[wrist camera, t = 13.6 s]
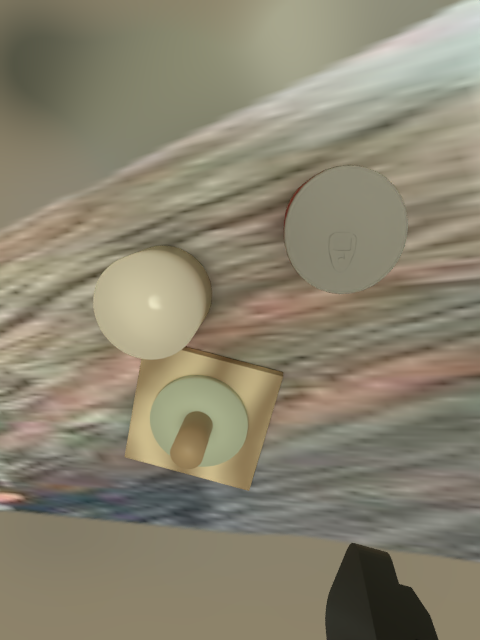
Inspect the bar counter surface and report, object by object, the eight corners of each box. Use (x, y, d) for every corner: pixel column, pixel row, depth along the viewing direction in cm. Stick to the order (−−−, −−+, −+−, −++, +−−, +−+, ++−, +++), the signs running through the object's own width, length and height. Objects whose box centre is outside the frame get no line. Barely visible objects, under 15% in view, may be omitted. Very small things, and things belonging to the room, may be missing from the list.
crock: (221, 258, 37) (209, 270, 32) (201, 346, 40) (187, 371, 35) (128, 235, 38) (100, 242, 32) (115, 323, 41) (87, 344, 35)
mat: (283, 372, 40) (283, 376, 39) (249, 484, 44) (248, 490, 44) (147, 336, 41) (144, 340, 40) (128, 451, 45) (124, 456, 44)
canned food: (295, 275, 37) (299, 306, 27) (274, 187, 35) (270, 184, 25) (379, 255, 36) (418, 279, 25) (363, 162, 34) (398, 148, 23)
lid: (258, 389, 40) (254, 421, 34) (236, 471, 43) (228, 513, 37) (161, 364, 40) (140, 391, 35) (146, 446, 43) (124, 484, 38)
